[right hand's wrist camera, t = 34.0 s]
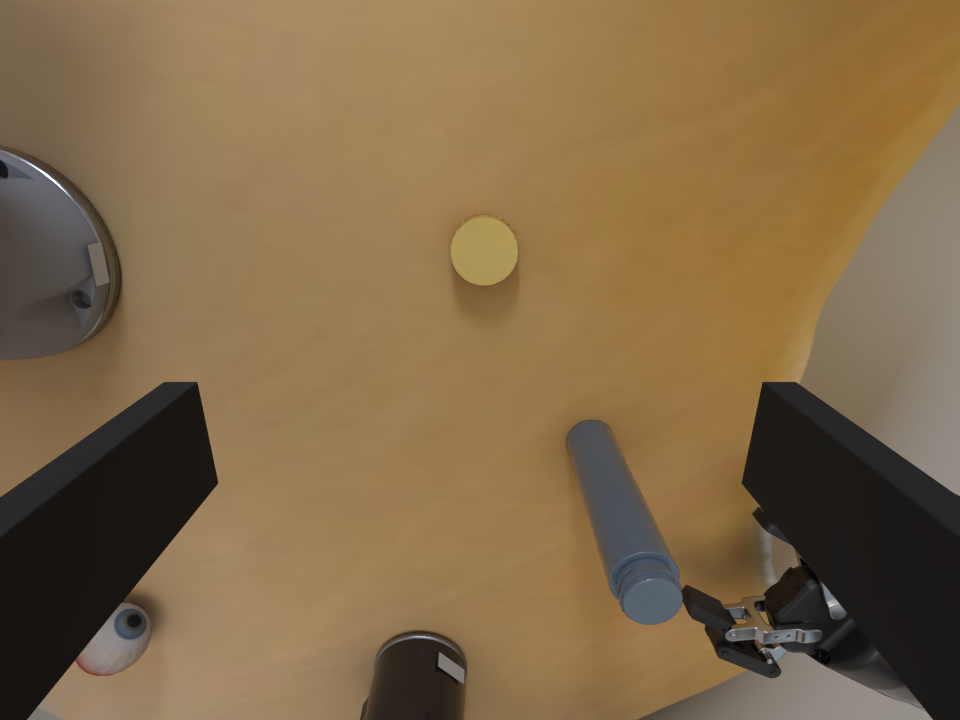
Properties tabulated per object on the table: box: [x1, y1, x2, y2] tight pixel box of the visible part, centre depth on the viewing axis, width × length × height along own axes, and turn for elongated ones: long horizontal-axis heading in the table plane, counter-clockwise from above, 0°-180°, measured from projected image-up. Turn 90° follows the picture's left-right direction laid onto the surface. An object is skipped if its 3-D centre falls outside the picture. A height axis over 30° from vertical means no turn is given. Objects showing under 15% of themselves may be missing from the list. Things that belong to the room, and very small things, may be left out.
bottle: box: [566, 420, 683, 625], centre depth 37 cm, size 4×4×18 cm
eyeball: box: [75, 603, 152, 676], centre depth 49 cm, size 6×6×6 cm
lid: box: [450, 214, 519, 286], centre depth 38 cm, size 5×5×2 cm
